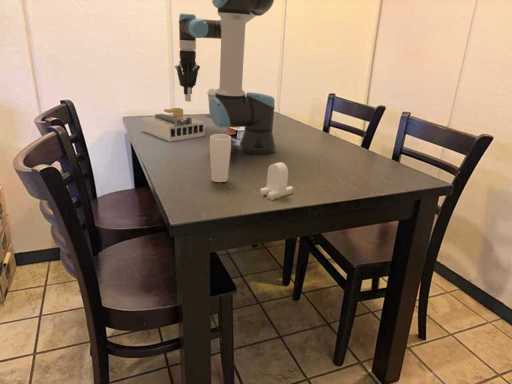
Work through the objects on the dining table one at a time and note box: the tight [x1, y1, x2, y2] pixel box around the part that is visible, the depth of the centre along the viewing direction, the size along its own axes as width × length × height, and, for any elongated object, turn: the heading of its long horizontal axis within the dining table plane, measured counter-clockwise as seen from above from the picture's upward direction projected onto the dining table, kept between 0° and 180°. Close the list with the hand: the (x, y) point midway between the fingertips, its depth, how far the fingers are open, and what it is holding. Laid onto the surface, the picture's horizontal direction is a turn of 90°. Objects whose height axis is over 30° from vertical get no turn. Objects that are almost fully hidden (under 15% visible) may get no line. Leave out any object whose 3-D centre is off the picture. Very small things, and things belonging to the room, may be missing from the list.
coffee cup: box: [206, 88, 219, 118], centre depth 219 cm, size 10×10×15 cm
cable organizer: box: [259, 161, 294, 197], centre depth 117 cm, size 5×10×10 cm, turn 133°
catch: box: [163, 107, 184, 116], centre depth 185 cm, size 4×8×3 cm, turn 135°
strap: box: [154, 113, 188, 125], centre depth 176 cm, size 21×4×2 cm, turn 45°
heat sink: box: [141, 113, 205, 143], centre depth 178 cm, size 22×19×9 cm
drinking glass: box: [209, 133, 232, 183], centre depth 124 cm, size 7×7×15 cm
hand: (187, 101), depth 189 cm, fingers closed
